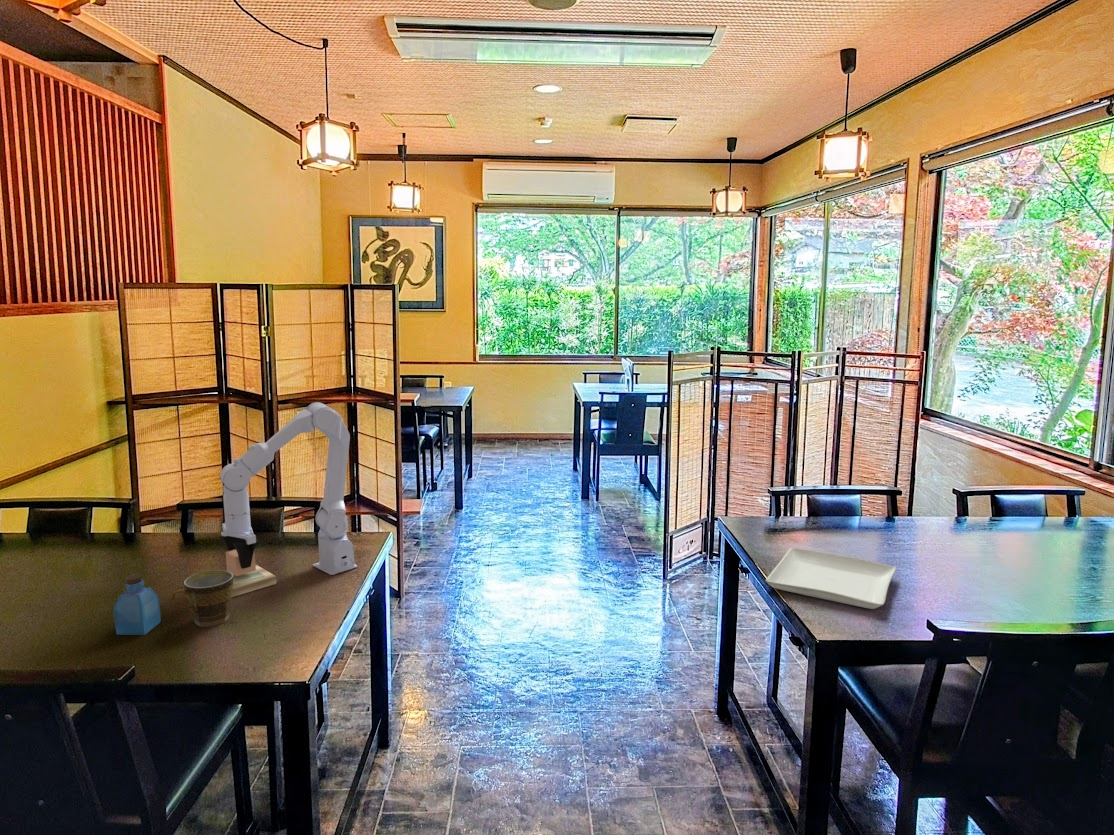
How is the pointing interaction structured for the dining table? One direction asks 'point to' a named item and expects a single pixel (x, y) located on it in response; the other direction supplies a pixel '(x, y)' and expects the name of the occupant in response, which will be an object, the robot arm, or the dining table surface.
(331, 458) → the robot arm
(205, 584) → the ceramic cup
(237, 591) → the display base
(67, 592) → the dining table surface
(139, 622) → the perfume bottle
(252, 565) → the terracotta block
